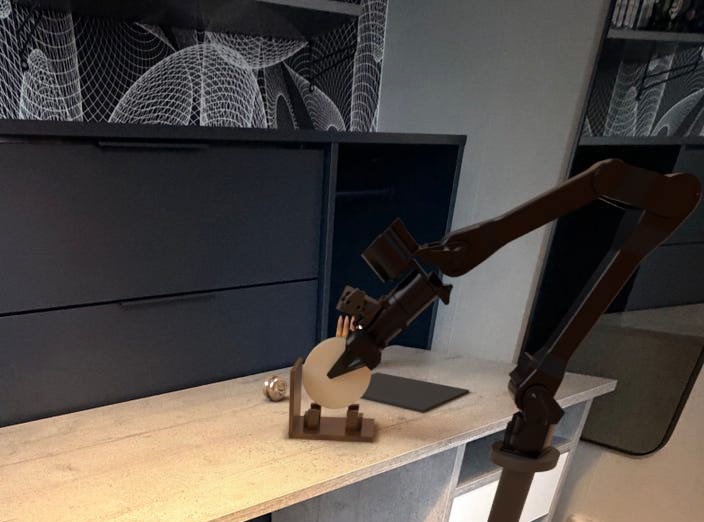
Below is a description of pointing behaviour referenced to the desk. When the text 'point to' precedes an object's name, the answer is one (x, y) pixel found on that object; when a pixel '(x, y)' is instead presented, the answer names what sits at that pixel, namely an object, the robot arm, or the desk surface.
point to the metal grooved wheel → (274, 388)
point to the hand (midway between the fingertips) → (328, 375)
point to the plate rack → (324, 418)
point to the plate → (339, 388)
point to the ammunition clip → (346, 325)
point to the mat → (409, 392)
